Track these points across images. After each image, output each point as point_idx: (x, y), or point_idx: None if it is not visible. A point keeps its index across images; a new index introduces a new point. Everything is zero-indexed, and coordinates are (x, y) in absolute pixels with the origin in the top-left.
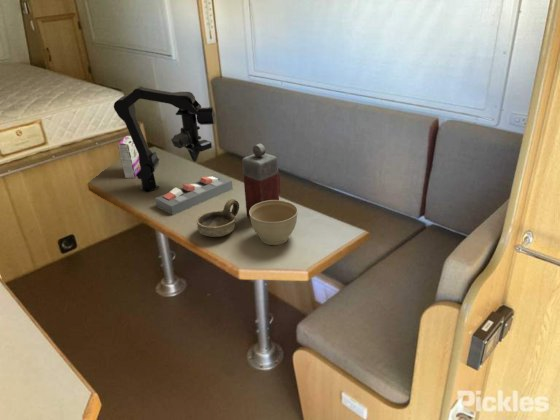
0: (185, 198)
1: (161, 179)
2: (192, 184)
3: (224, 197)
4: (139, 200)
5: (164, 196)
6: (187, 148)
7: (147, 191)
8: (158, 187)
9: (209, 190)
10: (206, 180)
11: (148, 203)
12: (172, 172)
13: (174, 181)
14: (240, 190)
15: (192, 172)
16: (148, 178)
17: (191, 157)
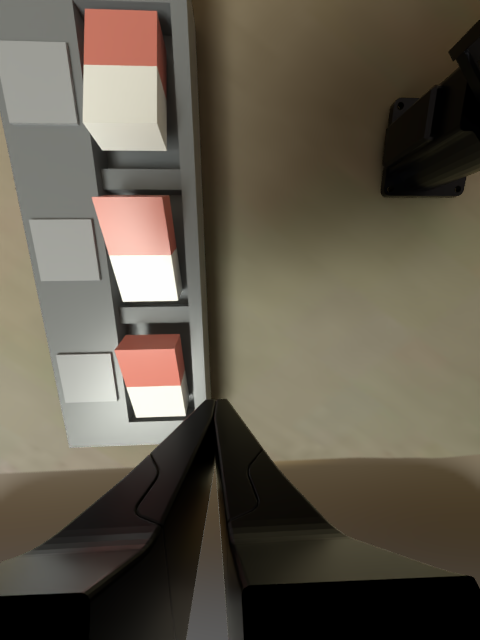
0: (17, 110)
1: (450, 264)
2: (159, 268)
3: (44, 344)
4: (346, 3)
5: (148, 16)
6: (238, 584)
7: (393, 104)
8: (383, 186)
9: (40, 300)
10: (116, 348)
11: (270, 18)
12: (462, 347)
13: (375, 294)
14: (60, 428)
15: (379, 404)
16: (455, 45)
17: (238, 419)
